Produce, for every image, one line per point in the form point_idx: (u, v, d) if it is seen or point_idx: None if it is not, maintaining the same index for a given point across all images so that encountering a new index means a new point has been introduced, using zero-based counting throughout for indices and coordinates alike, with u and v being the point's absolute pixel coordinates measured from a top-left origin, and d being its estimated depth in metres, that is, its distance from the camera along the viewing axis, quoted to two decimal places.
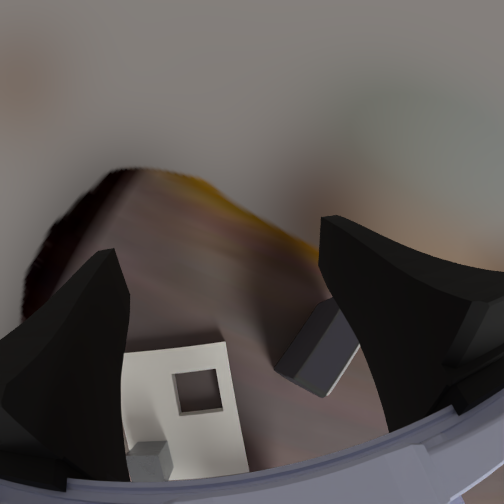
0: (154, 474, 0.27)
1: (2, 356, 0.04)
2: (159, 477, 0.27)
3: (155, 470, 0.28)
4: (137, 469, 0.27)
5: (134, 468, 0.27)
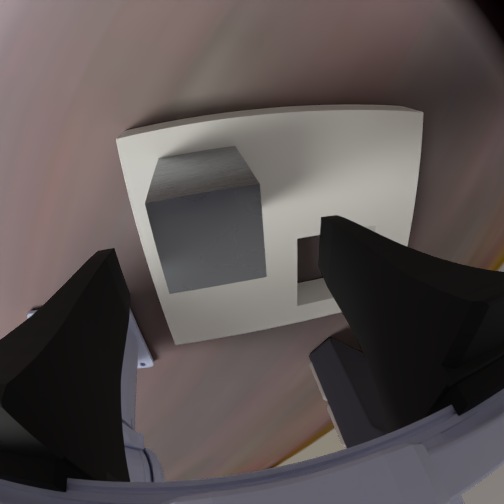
0: (202, 266, 0.12)
1: (2, 356, 0.04)
2: (194, 278, 0.12)
3: (214, 268, 0.12)
4: (213, 219, 0.11)
5: (215, 211, 0.11)
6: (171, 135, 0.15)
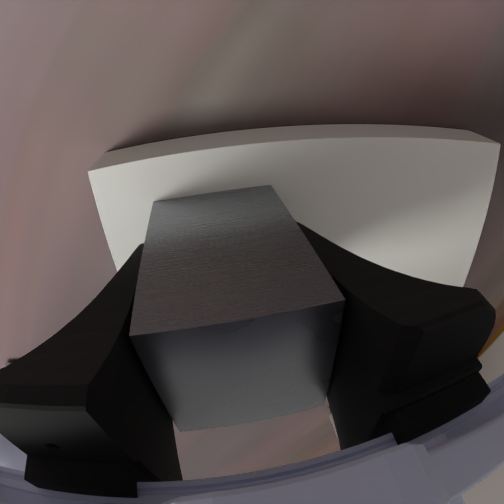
0: (231, 406, 0.07)
1: (63, 354, 0.05)
2: (217, 417, 0.07)
3: (250, 407, 0.07)
4: (255, 356, 0.06)
5: (260, 345, 0.06)
6: (173, 167, 0.10)
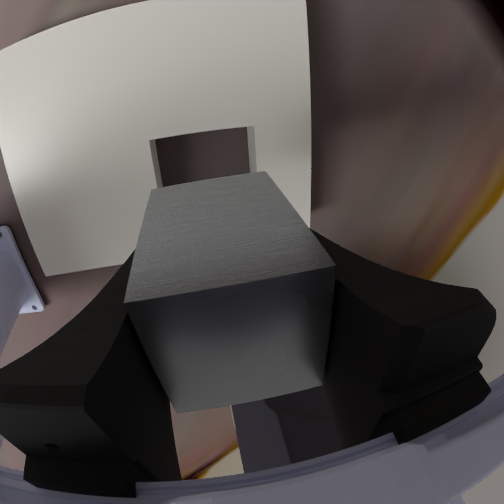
0: (227, 383, 0.07)
1: (62, 354, 0.04)
2: (214, 396, 0.07)
3: (247, 384, 0.07)
4: (248, 325, 0.06)
5: (253, 313, 0.06)
6: (25, 45, 0.11)
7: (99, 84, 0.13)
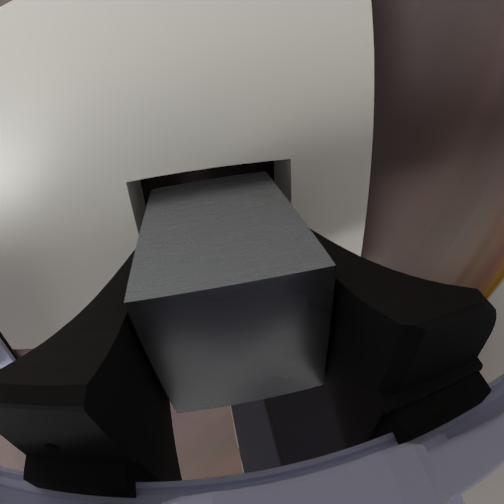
0: (227, 383, 0.07)
1: (62, 354, 0.05)
2: (214, 396, 0.07)
3: (247, 385, 0.07)
4: (248, 324, 0.06)
5: (253, 313, 0.06)
6: None
7: (47, 95, 0.08)
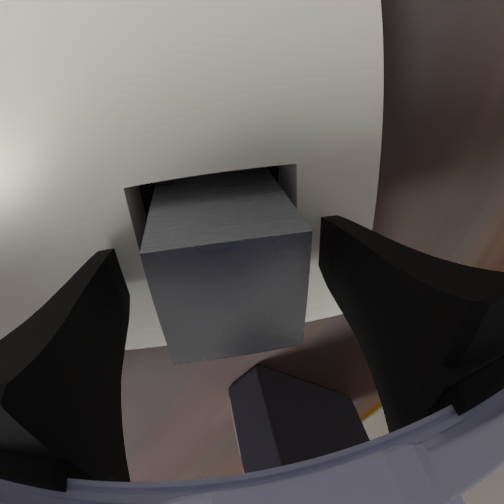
0: (219, 334, 0.09)
1: (2, 356, 0.04)
2: (208, 347, 0.09)
3: (237, 337, 0.09)
4: (240, 278, 0.08)
5: (244, 268, 0.08)
6: None
7: (40, 97, 0.07)
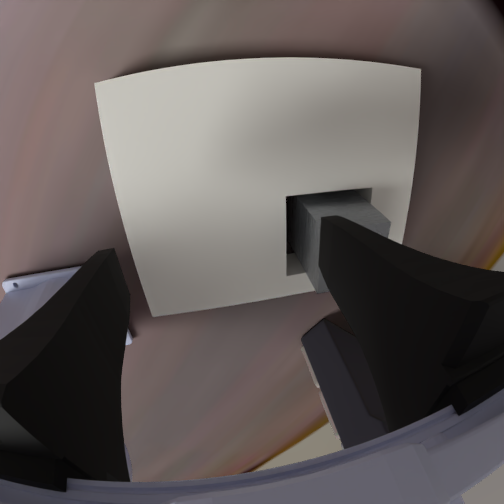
0: None
1: (2, 356, 0.04)
2: None
3: None
4: None
5: None
6: (151, 78, 0.13)
7: (242, 137, 0.15)
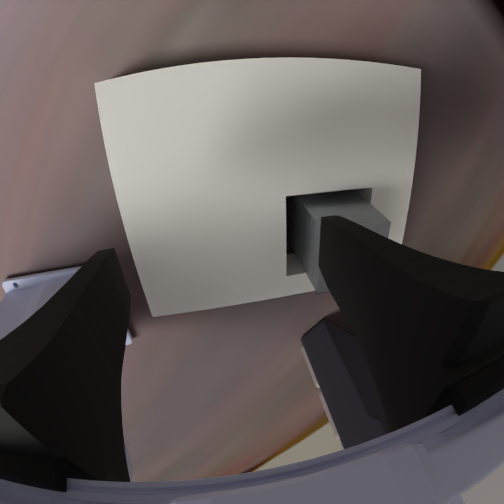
0: None
1: (2, 356, 0.04)
2: None
3: None
4: None
5: None
6: (151, 78, 0.13)
7: (242, 137, 0.15)
